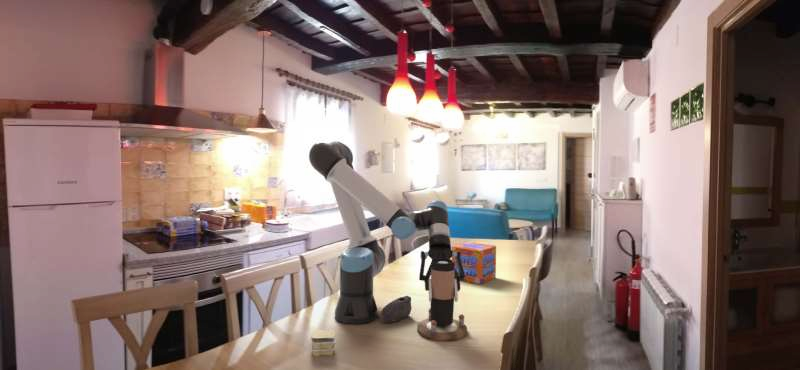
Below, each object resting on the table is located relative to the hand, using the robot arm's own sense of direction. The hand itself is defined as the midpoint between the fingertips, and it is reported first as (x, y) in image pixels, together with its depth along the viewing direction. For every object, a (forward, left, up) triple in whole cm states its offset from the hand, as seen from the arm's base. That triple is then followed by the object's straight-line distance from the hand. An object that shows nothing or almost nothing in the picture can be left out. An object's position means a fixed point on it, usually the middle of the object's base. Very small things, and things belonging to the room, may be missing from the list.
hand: (443, 299), depth 131 cm
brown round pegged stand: (+2, +3, -12) cm, 12 cm away
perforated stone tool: (-6, +19, -12) cm, 23 cm away
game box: (+53, +48, -12) cm, 72 cm away
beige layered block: (-37, +7, -12) cm, 40 cm away
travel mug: (+2, +3, -9) cm, 9 cm away
